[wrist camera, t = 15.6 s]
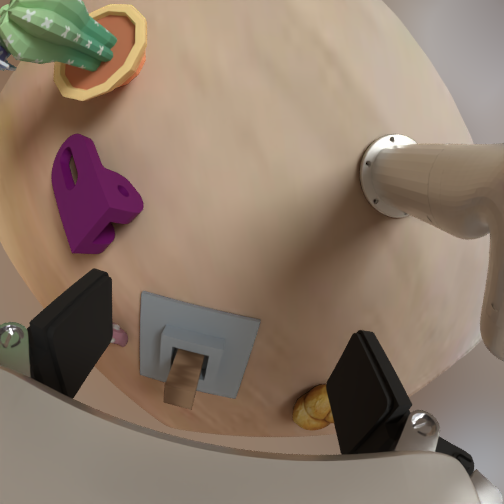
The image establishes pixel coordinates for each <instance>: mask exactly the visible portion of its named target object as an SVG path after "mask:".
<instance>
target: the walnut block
mask: <svg viewBox="0 0 504 504" xmlns="http://www.w3.org/2000/svg"><path fill="white" fill-rule="evenodd" d="M204 356H205V355H203V354H198V353H194V352H190V351H187V350H183V349H179V348H178V351H177V354H176V356H175V359H174V361H173V364H172V367H171V369H170V372H169V375H168V377H167V380H166V383H165V389H164V402H165V403H168V404H172V405H175V406H179V407H183V408H186V409H190V410H192V406H193V402H194V398H195V394H196V389H197V385H198V381H199V377H200V373H201V369H202V365H203V360H204Z"/></svg>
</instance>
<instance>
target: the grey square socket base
mask: <svg viewBox="0 0 504 504" xmlns="http://www.w3.org/2000/svg"><path fill="white" fill-rule="evenodd" d="M259 325H260V319H255V318H250V317H245V316H241V315H236V314H232V313H228V312H223V311H219V310H215V309H211V308H206V307H202V306H198V305H194V304H190V303H186V302H183V301H179V300H175V299H171V298H168V297H164V296H160V295H157V294H153V293H149V292H146V291H143V292H142V294H141V315H140V375H143V376H146V377H149V378H152V379H156V380H159V381H162V382H166V380H167V377H168V375H169V372H170V369H171V367H172V364H173V361H174V359H175V356H176V354H177V351H178V348H179V349H183V350H187V351H190V352H194V353H198V354H203V355H205V356H204V360H203V365H202V369H201V373H200V377H199V381H198V385H197V389H196V391H200V392H205V393H209V394H214V395H219V396H223V397H228V398H234V399H235V398H236V396H237V393H238V390H239V387H240V384H241V381H242V378H243V375H244V372H245V369H246V366H247V363H248V360H249V356H250V353H251V350H252V347H253V344H254V341H255V338H256V335H257V332H258V328H259Z"/></svg>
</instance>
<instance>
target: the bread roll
mask: <svg viewBox="0 0 504 504" xmlns="http://www.w3.org/2000/svg"><path fill="white" fill-rule="evenodd" d="M293 421H294V422H295V423H296V424H298V425H299V426H300V427H302V428H303V429H306V430H318V429H322V428H324V427H326V426H328V425H329V424H330V423H334V420H333V416H332V411H331V407H330V403H329V399H328V395H327V391H326V385H325V384H323V385H319V386H316V387H315V388H313V389H312V390H311V391H310V392H309V393H306V394H305V395H303V396H302V397H300V398H299V399H298V400H297V402H296V404H295V406H294V407H293Z"/></svg>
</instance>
